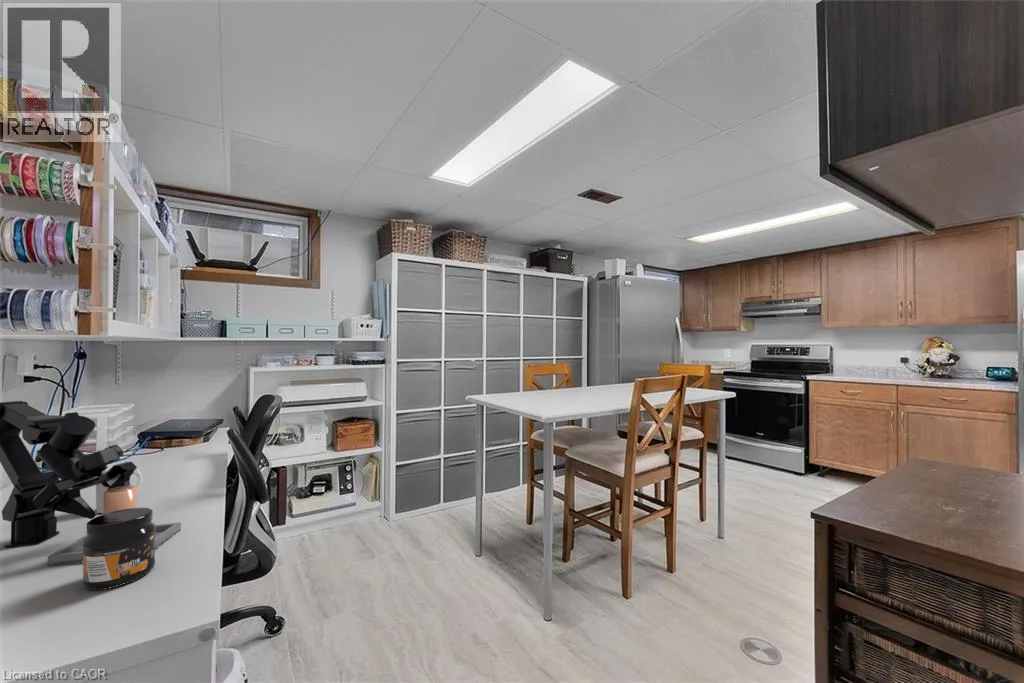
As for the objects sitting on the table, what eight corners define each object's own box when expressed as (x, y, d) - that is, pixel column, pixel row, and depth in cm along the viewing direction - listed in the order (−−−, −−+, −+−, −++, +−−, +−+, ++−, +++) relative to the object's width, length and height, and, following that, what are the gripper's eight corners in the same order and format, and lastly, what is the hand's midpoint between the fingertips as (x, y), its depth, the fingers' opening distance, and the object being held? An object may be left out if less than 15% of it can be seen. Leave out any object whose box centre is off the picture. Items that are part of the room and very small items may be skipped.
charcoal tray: (47, 566, 86) (47, 556, 86) (93, 539, 99) (93, 531, 99) (149, 554, 91) (149, 545, 91) (180, 530, 103) (180, 522, 103)
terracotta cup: (95, 549, 92) (96, 493, 93) (121, 538, 98) (122, 485, 98) (118, 550, 92) (119, 493, 92) (142, 538, 97) (143, 485, 98)
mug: (97, 516, 114) (98, 472, 114) (92, 511, 117) (93, 468, 118) (145, 505, 122) (146, 464, 122) (138, 500, 126) (139, 461, 126)
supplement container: (83, 599, 74) (85, 532, 74) (79, 579, 81) (80, 517, 81) (159, 575, 82) (160, 514, 82) (150, 558, 89) (150, 502, 89)
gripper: (47, 445, 86) (98, 498, 86) (130, 429, 105) (172, 472, 105) (9, 483, 86) (60, 536, 86) (99, 460, 105) (141, 504, 104)
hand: (114, 509), depth 95 cm, fingers open, 9 cm apart
